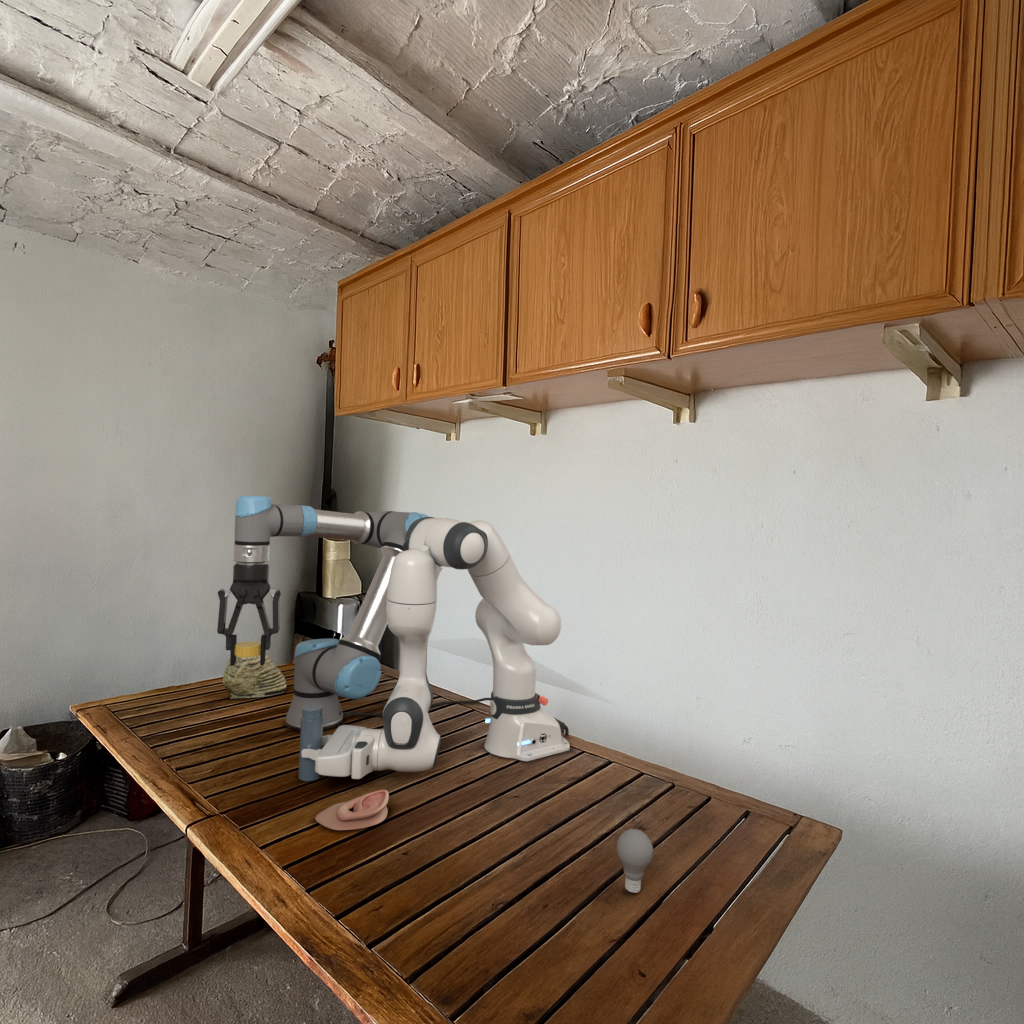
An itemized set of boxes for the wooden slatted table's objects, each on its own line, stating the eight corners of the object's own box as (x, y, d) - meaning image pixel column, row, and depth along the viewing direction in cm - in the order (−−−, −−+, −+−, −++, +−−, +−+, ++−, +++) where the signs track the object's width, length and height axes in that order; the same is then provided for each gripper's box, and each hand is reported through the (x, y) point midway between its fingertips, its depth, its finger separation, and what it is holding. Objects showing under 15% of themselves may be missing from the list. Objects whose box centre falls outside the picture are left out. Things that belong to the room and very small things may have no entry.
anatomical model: (307, 805, 121) (336, 780, 133) (306, 826, 121) (335, 798, 133) (372, 815, 119) (395, 788, 130) (371, 836, 119) (394, 807, 130)
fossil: (218, 695, 195) (220, 647, 195) (278, 685, 208) (279, 640, 207) (228, 703, 189) (230, 653, 188) (289, 692, 201) (290, 645, 201)
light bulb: (610, 879, 108) (613, 822, 108) (644, 879, 109) (647, 822, 109) (619, 902, 102) (622, 840, 102) (655, 901, 103) (658, 840, 103)
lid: (230, 657, 142) (231, 646, 142) (239, 650, 148) (239, 641, 147) (257, 657, 142) (257, 647, 142) (264, 651, 148) (265, 641, 148)
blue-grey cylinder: (294, 779, 141) (296, 709, 141) (305, 770, 146) (308, 702, 146) (314, 782, 140) (316, 712, 140) (324, 773, 145) (327, 705, 145)
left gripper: (203, 564, 139) (199, 669, 139) (292, 565, 143) (289, 667, 144) (210, 560, 146) (207, 660, 146) (295, 562, 150) (292, 659, 151)
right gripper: (378, 719, 153) (320, 717, 153) (358, 753, 133) (292, 750, 133) (377, 745, 153) (319, 743, 153) (357, 783, 133) (291, 780, 133)
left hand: (247, 663), depth 145 cm, fingers closed on lid, 6 cm apart
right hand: (306, 746), depth 143 cm, fingers closed on blue-grey cylinder, 5 cm apart
